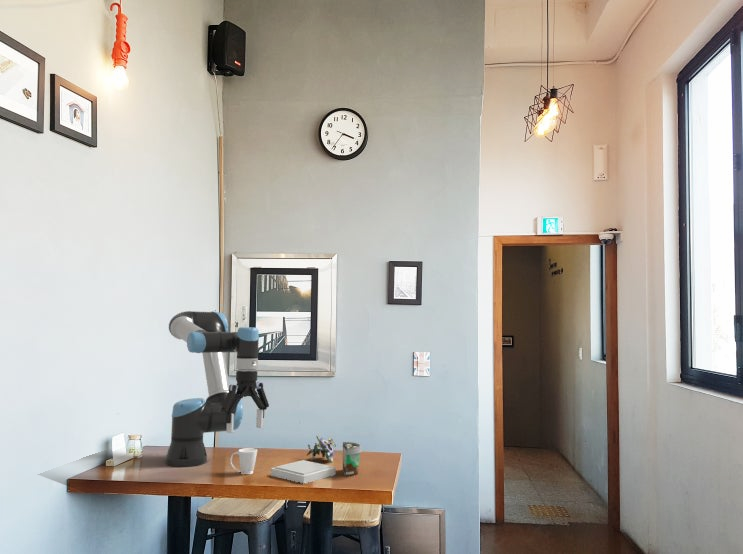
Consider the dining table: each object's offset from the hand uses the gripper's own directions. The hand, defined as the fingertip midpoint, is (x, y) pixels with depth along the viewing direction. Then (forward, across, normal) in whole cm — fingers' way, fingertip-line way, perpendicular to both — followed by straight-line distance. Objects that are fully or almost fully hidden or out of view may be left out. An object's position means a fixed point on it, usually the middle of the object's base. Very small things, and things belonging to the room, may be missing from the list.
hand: (245, 430), depth 214 cm
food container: (+15, +26, -29) cm, 42 cm away
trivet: (+15, +12, -18) cm, 26 cm away
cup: (+15, 0, 0) cm, 15 cm away
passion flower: (+15, +32, -8) cm, 36 cm away
